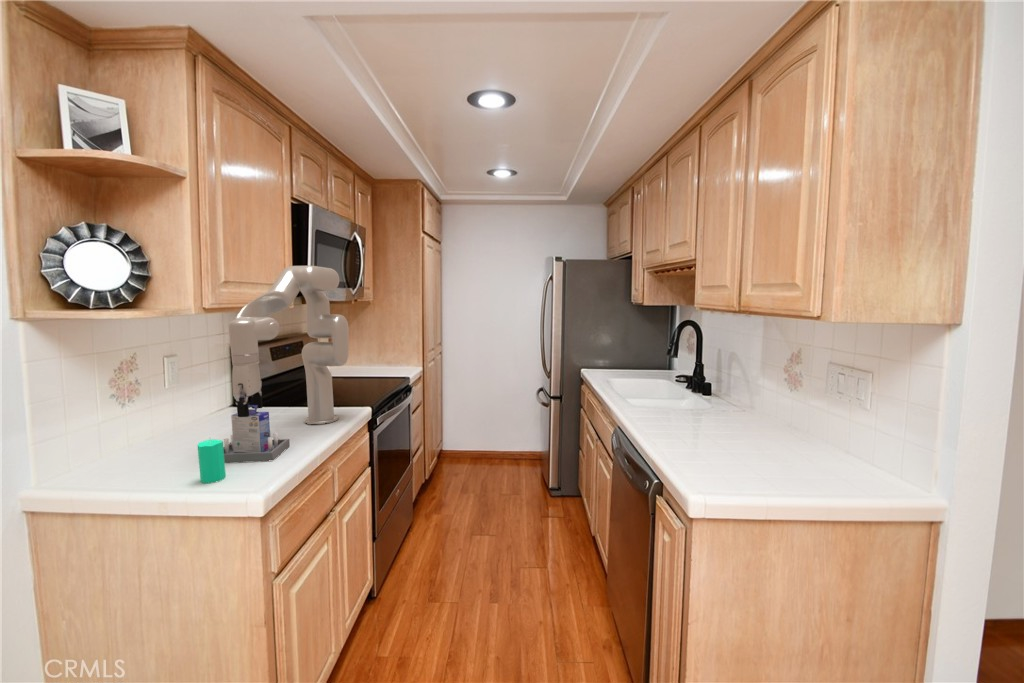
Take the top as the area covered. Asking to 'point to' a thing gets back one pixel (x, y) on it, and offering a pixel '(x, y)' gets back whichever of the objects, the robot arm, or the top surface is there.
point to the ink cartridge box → (251, 431)
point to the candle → (211, 461)
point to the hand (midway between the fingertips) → (250, 412)
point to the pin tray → (273, 451)
